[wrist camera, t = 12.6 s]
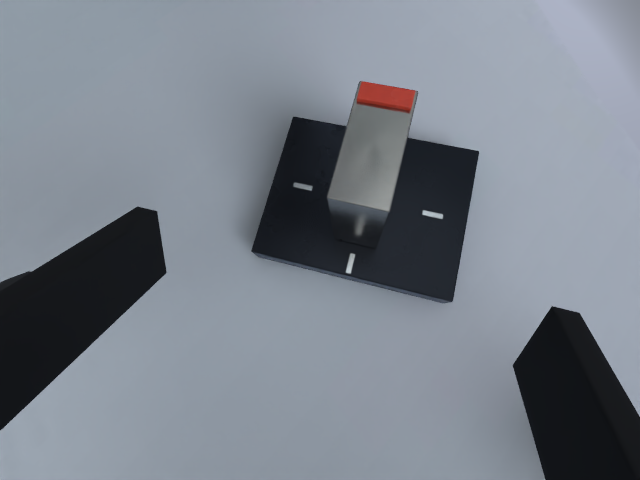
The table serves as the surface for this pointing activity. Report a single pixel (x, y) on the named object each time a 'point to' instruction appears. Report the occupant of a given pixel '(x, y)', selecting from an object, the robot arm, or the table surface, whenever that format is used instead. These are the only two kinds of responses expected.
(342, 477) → the table surface
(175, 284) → the table surface
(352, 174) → the red-capped silver block
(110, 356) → the table surface
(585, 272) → the table surface
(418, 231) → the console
